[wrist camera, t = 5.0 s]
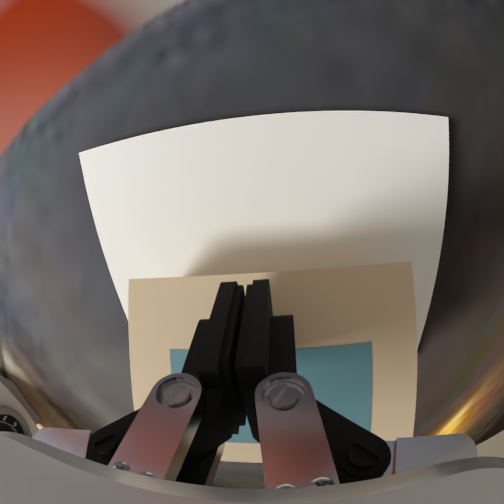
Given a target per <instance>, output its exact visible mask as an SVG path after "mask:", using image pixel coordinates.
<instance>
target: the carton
mask: <svg viewBox="0 0 504 504" xmlns="http://www.w3.org/2000/svg"><path fill="white" fill-rule="evenodd" d="M260 279H269V282H270V291H271V300H272V310H273V316H280V315H293V320H294V334H295V349H296V366H297V374H298V375H300V376H303V377H304V378H305V379H306V380H307V381H309V383H310V385H311V387H312V390H313V393H314V396H315V399H316V400H318V401H319V402H321V403H322V404H324V405H326V406H327V407H329V408H331V409H332V410H334V411H335V412H337V413H339V414H340V415H342V416H344V417H346V418H347V419H349V420H351V421H352V422H354V423H356V424H358V425H359V426H361V427H363V428H365V429H366V430H368V431H370V432H372V433H373V434H375V435H377V436H379V437H380V438H382V439H383V440H384V441H395V440H396V439H397V438H404V437H413V430H414V419H415V407H416V391H417V324H416V306H415V294H414V283H413V274H412V265H411V261H410V262H399V263H387V264H375V265H363V266H350V267H337V268H323V269H309V270H294V271H279V272H262V273H246V274H228V275H209V276H188V277H166V278H141V279H129V288H128V323H129V352H130V369H131V383H132V394H133V403H134V411H136V410H138V409H140V408H141V407H142V405H143V403H144V402H145V400H146V398H147V396H148V395H149V393H150V391H151V390H152V388H153V386H154V385H155V384H156V383H157V382H158V381H159V380H160V379H162V378H163V377H165V376H167V375H170V374H174V373H181V372H182V369H183V366H184V363H185V360H186V357H187V354H188V351H189V348H190V345H191V342H192V339H193V336H194V333H195V330H196V327H197V324H198V322H199V320H201V319H209V318H210V315H211V312H212V308H213V305H214V302H215V299H216V295H217V292H218V289H219V286H220V283H221V282H232V281H237V283H238V285H243V286H244V292H245V295H246V288H247V285H248V284H252V283H253V280H260ZM220 461H231V462H254V463H262V455H261V446H260V443H259V442H257V441H256V440H255V439H254V438H253V436H252V433H251V429H250V425H249V422H248V418H247V415H246V424H245V426H240V427H239V434H232V438H231V439H229V440H228V441H226V442H225V446H224V451H223V454H222V457H221V460H220Z"/></svg>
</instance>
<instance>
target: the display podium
mask: <svg viewBox="0 0 504 504" xmlns="http://www.w3.org/2000/svg"><path fill="white" fill-rule="evenodd" d="M79 156H80V161H81V166H82V171H83V176H84V181H85V185H86V190H87V194H88V198H89V202H90V206H91V210H92V214H93V218H94V222H95V225H96V229H97V232H98V236H99V239H100V243H101V246H102V249H103V252H104V255H105V259H106V262H107V265H108V268H109V271H110V274H111V277H112V279H113V282H114V285H115V288H116V291H117V293H118V296H119V299H120V301H121V304H122V306H123V309H124V311H125V314H126V316H127V319H128V288H129V279H141V278H166V277H188V276H209V275H228V274H246V273H262V272H279V271H294V270H309V269H323V268H337V267H350V266H363V265H375V264H387V263H399V262H410V261H411V265H412V274H413V283H414V294H415V306H416V324H417V349H418V345H419V342H420V339H421V336H422V332H423V329H424V325H425V322H426V318H427V314H428V310H429V306H430V302H431V298H432V294H433V289H434V285H435V280H436V275H437V270H438V264H439V259H440V253H441V246H442V240H443V232H444V225H445V216H446V205H447V193H448V175H449V122H448V117H443V116H434V115H425V114H414V113H401V112H384V111H310V112H291V113H277V114H266V115H256V116H247V117H239V118H231V119H224V120H217V121H210V122H204V123H198V124H193V125H187V126H182V127H177V128H172V129H167V130H162V131H157V132H153V133H149V134H144V135H140V136H136V137H132V138H128V139H124V140H121V141H117V142H113V143H110V144H106V145H103V146H99V147H96V148H93V149H90V150H86V151H83V152H80V153H79Z"/></svg>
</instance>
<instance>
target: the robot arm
mask: <svg viewBox="0 0 504 504" xmlns="http://www.w3.org/2000/svg"><path fill="white" fill-rule="evenodd" d="M246 415H247V418H248V422H249V425H250V429H251V433H252V436H253V438H254V439H255V440H256V441H257V442H259V443H260V446H261V455H262V463H263V471H264V478H265V486H266V489H243V488H226V487H214V486H211V485H212V483H213V480H214V477H215V474H216V471H217V468H218V465H219V463H220V460H221V457H222V454H223V451H224V446H225V442H226V441H228V440H229V439H231V438H232V434H239V427H240V426H245V424H246ZM0 504H504V458H499V457H477V449H476V445H475V442H474V441H473V440H472V439H471V438H470V437H469V436H467V435H465V434H448V435H438V436H425V437H404V438H397V439H396V440H395V441H384V440H383V439H382V438H380V437H379V436H377V435H375V434H373V433H372V432H370V431H368V430H366V429H365V428H363V427H361V426H359V425H358V424H356V423H354V422H352V421H351V420H349V419H347V418H346V417H344V416H342V415H340V414H339V413H337V412H335V411H334V410H332V409H331V408H329V407H327V406H326V405H324V404H322V403H321V402H319V401H318V400H316V399H315V396H314V393H313V390H312V387H311V385H310V383H309V381H307V380H306V379H305V378H304V377H303V376H300V375H298V374H297V366H296V349H295V334H294V320H293V315H280V316H273V310H272V300H271V291H270V282H269V279H260V280H253V283H252V284H248V285H247V288H246V295H245V292H244V286H243V285H238V283H237V281H232V282H221V283H220V286H219V289H218V292H217V295H216V299H215V302H214V305H213V308H212V312H211V315H210V318H209V319H201V320H199V322H198V324H197V327H196V330H195V333H194V336H193V339H192V342H191V345H190V348H189V351H188V354H187V357H186V360H185V363H184V366H183V369H182V372H181V373H174V374H170V375H167V376H165V377H163V378H162V379H160V380H159V381H158V382H157V383H156V384H155V385H154V386H153V388H152V390H151V391H150V393H149V395H148V396H147V398H146V400H145V402H144V403H143V405H142V407H141V408H140V409H138V410H136V411H134V412H132V413H130V414H128V415H126V416H124V417H123V418H121V419H119V420H117V421H115V422H113V423H111V424H109V425H107V426H105V427H103V428H101V429H99V430H98V431H96V432H95V433H92V431H91V430H77V429H63V428H52V427H45V428H42V429H40V430H38V431H37V432H36V433H35V435H34V437H33V438H31V437H28V436H25V435H22V434H19V433H14V432H2V431H0Z"/></svg>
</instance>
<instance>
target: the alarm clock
mask: <svg viewBox="0 0 504 504" xmlns="http://www.w3.org/2000/svg"><path fill="white" fill-rule="evenodd" d="M39 420H40V417H39V416H38V415H37V414H36V412H35V411H34V410H33V409H32V407H31V406H30V405H29V403H28V402H27V401H26V399H25V398H24V396H23V395H22V394H21V392H20V391H19V389H18V388H17V386H16V385H15V383H14V382H12V381H10V380H9V379H7V378H5V377H3V376H2V375H0V431H2V432H14V433H19V434H22V435H25V436H28V437H31V438H33V437H34V435H35V433H36V432H37V431H38V430H39V429H38V427H37V426H36V425H37V423H38V421H39Z"/></svg>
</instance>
